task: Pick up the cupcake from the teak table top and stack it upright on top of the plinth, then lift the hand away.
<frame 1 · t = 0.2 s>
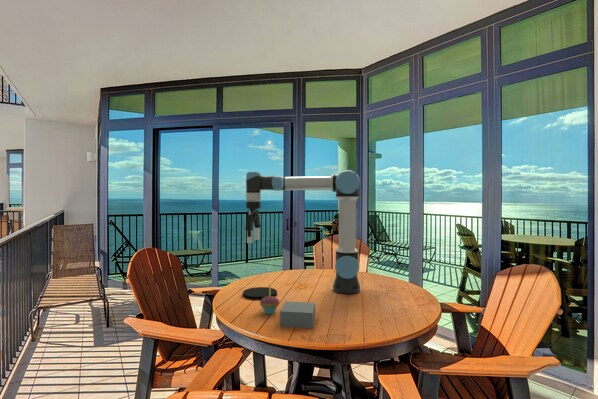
hand: (253, 241, 180), 28 cm above the table, tool pointing down, fingers open, 13 cm apart
cupcake: (269, 312, 152), on the table
plinth: (298, 321, 141), on the table
wireless charger: (260, 295, 179), on the table
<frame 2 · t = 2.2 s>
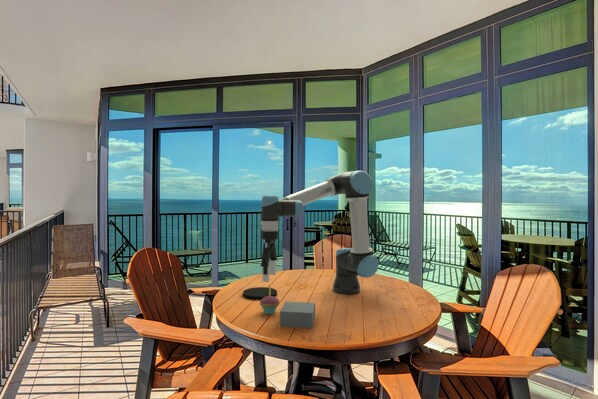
hand: (269, 278, 151), 15 cm above the table, tool pointing down, fingers open, 13 cm apart
nothing on the table moved.
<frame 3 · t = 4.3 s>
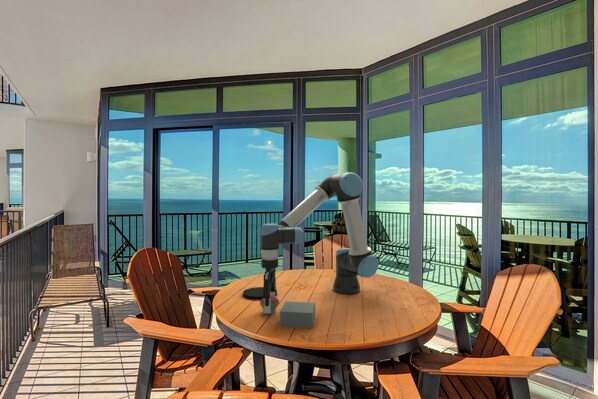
hand: (269, 309, 152), 1 cm above the table, tool pointing down, fingers closed on cupcake, 8 cm apart
cupcake: (269, 312, 152), on the table, touching gripper
everything else where it was.
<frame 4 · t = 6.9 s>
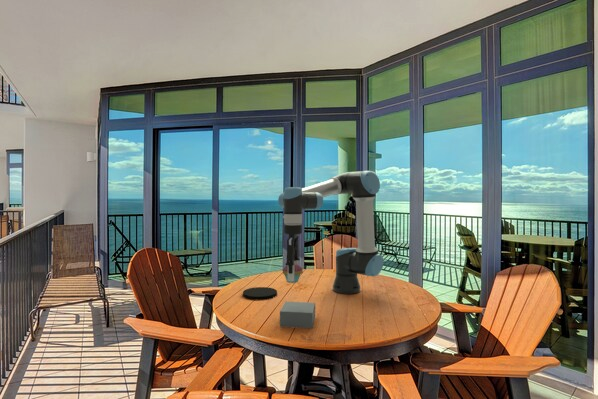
hand: (292, 278, 142), 17 cm above the table, tool pointing down, fingers closed on cupcake, 8 cm apart
cupcake: (292, 282, 142), point 16 cm above the table, touching gripper
everything else where it was.
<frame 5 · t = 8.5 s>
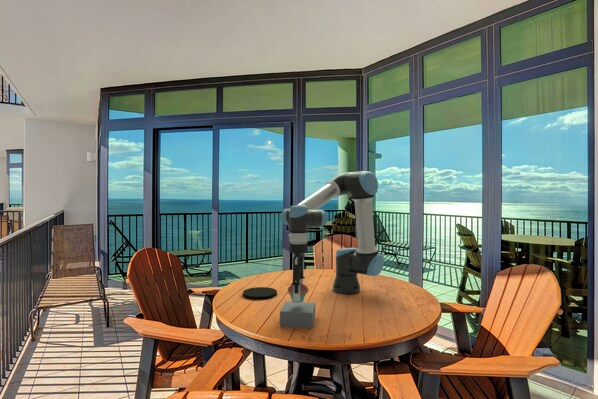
hand: (298, 297, 141), 10 cm above the table, tool pointing down, fingers closed on cupcake, 8 cm apart
cupcake: (298, 301, 141), point 8 cm above the table, touching gripper
everything else where it was.
when the fingers open (9 cm above the table, at t = 9.6 s): cupcake drops 1 cm, resting on plinth.
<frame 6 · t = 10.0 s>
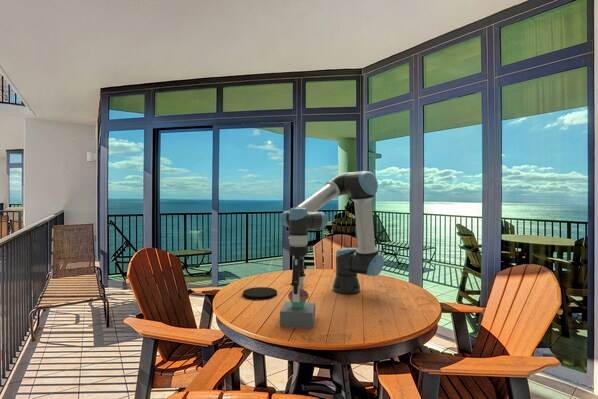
hand: (298, 296, 141), 10 cm above the table, tool pointing down, fingers open, 13 cm apart
cupcake: (298, 307, 141), point 6 cm above the table, touching plinth
everything else where it was.
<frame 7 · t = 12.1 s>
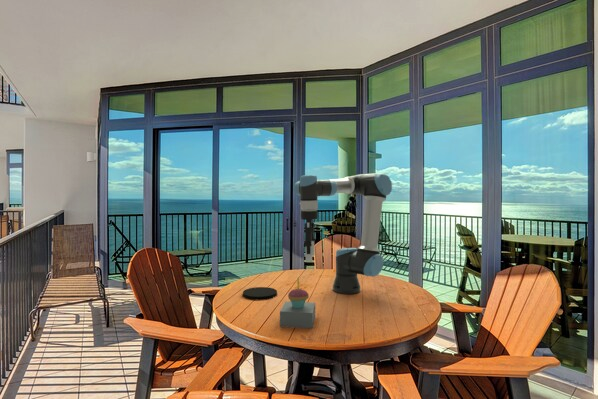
hand: (310, 258, 151), 24 cm above the table, tool pointing down, fingers open, 13 cm apart
nothing on the table moved.
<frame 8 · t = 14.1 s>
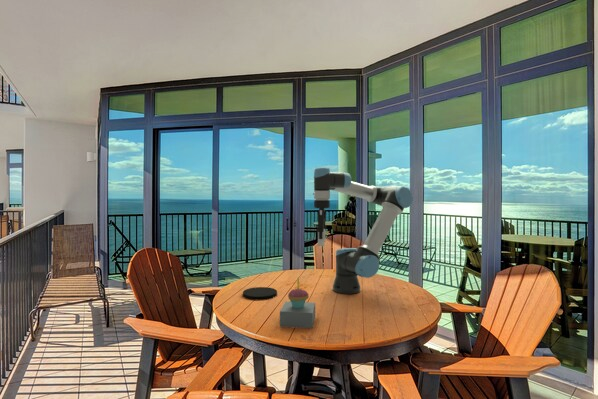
hand: (321, 243, 164), 29 cm above the table, tool pointing down, fingers open, 13 cm apart
nothing on the table moved.
at the end: cupcake inside the target area on the plinth (0.4 cm from its centre), point 5.8 cm above the plinth's base; cupcake tilted 0°; the gripper is holding nothing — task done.
